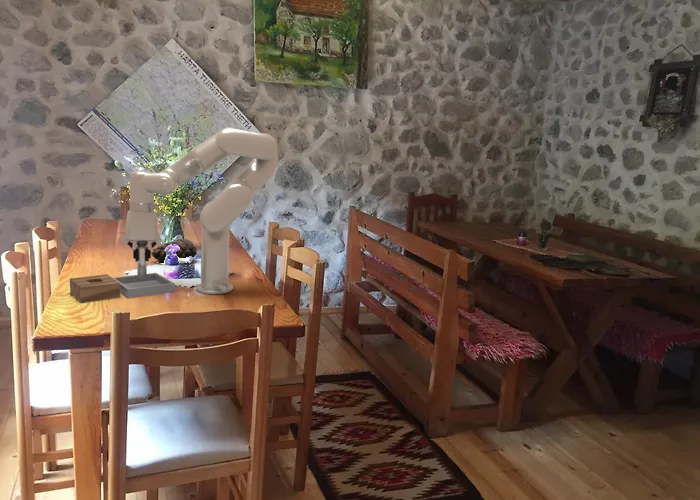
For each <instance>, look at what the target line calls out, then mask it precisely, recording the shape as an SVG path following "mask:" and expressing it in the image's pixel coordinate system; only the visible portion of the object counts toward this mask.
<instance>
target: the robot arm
mask: <svg viewBox="0 0 700 500" xmlns="http://www.w3.org/2000/svg"><path fill="white" fill-rule="evenodd" d="M231 155H232V156H238V157H244V158H251V159H252V160H251V161H250V163H248V164H247V166H246V167H245V168H244V169H243V170H242V171H241V172H240V173H239V174H238V175H237V176H236V177H235V178H234V179H233V178H232V180H231V181H230V182H228V183H227V184H226V186H225V188H224V189H223V190H222V191H221V192H220V193H219V194H218V195H217V196H216V197H215V198H214V199H213V200H211V201H208V202H206V203H205V204H204V205H203V207H202V210H201V212H200V215H199V222H200V224H201V242H200V244H201V245H200V249H201V250H200V283H198V284H197V285H196V286H195V290H196V291H197V292H198V293H201V294H208V295H222V294H226V293H227V294H228V293H230V292H232V290H233V288H234V287H233V285H232V284H231V283H229V274H230V273H229V268H230V267H229V262H230V260H229V259H230V231H231V230H230V228H231V227H230V225H231V224H233V222H234V221H235V220H237V218H238V217H240V216H241V215H242V214H243V213H244V212H245V211H246V210H247V209H248V207H249V206H250V205H251V203H252V202H253V197H254V196H255V195H256V194H257V192H259V191H260V190H261V189H262V187H263V186H264V185H266V183H268V181H269V180H270V179H271V177H272V176H273V174H274V173H275V171H276V169H277V165H278V160H279V154H278V143H277V140H276V138H275V137H274V136H272V135H271V134H269V133H265V132H264V133H263V132H255V131H249V130H243V129H239V128H235V127H231V126H228V127H223V128H222V129H220V130H219V131H218V132H216V133H215V134H213V135H212V136H210V137H209V138H207V139H206V140H204V141H203V142H201V143H200V144H198V145H197V146H195V147H194V148H192V149H191V150H190V151H188V152H187V153H186V154H185V155H184V156H183V157H181V158H180V159H179V160H177V161H175V162H174V163H173V164H171V165H170V166H168V167H166V168H165V169H163V170H161V171H159V172H152V171H150V170H141V169H140V170H132V171H131V172H130V174H129V205H130V206H129V210H127V213H126V214H127V215H126V225H125V233H124V235H123V237H121V242H122V243H123V244H125V245H127V246H128V247H129V248H130V249H131V250H132V252H133V253H132V259H134V261H135V262H136V263H137V261H138V250H137V241H139V240H145V241H147V243H148V244H147V250H146V261H147V262H149V261H150V260H149V259H152V254H151V252H152V250H153V249H154V248H155V247H156V245H159V244H160V243H162V242H163V239H162V237H161V236H160V234H159V230H158V226H159V225H158V217H157V215H158V214H157V211H156V210H155V209H159V204H156V203H155V194H156V195H162V196H167V195H171V194H173V192H174V191H175V190H176V189H178V188H180V186H182V185H184V184H185V183H186V182H188V181H189V180H191V179H192V178H194V177H196V176H198V175H200V174H202V173H203V174H204V173H205V172H207V171H209V170H211V169H212V168H214V167H215V166H216V165H218V164H219V163H221V162H223V161H224V160H226V158H228V157H230V156H231Z"/></svg>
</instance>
